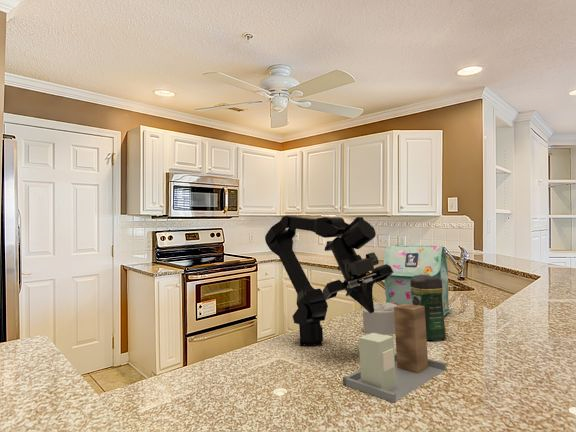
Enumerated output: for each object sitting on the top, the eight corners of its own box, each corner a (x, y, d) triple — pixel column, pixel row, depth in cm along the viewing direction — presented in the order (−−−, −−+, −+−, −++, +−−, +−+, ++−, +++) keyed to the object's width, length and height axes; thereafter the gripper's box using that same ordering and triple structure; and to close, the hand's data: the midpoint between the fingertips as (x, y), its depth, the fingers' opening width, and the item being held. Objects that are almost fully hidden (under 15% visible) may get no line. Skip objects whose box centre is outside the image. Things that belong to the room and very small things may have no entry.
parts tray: (343, 387, 75) (342, 377, 76) (399, 360, 90) (398, 351, 90) (393, 405, 67) (393, 394, 67) (446, 372, 81) (446, 363, 81)
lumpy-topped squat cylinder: (409, 332, 115) (407, 304, 116) (374, 337, 111) (372, 308, 112) (390, 324, 125) (388, 299, 126) (357, 329, 121) (355, 303, 121)
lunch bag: (382, 315, 140) (378, 245, 142) (395, 307, 154) (392, 244, 155) (444, 320, 127) (439, 244, 129) (453, 311, 141) (449, 242, 142)
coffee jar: (451, 340, 105) (446, 276, 106) (425, 342, 103) (421, 277, 104) (432, 331, 114) (428, 272, 115) (409, 333, 113) (405, 274, 114)
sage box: (361, 387, 74) (358, 337, 74) (375, 379, 77) (372, 332, 78) (383, 394, 70) (380, 342, 71) (397, 386, 73) (394, 337, 74)
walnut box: (396, 367, 84) (392, 306, 84) (407, 362, 87) (403, 303, 88) (417, 373, 80) (413, 309, 80) (428, 367, 83) (424, 306, 84)
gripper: (322, 255, 87) (349, 316, 81) (387, 235, 93) (417, 291, 86) (312, 271, 97) (336, 327, 90) (372, 253, 102) (398, 304, 96)
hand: (372, 312), depth 90 cm, fingers closed
